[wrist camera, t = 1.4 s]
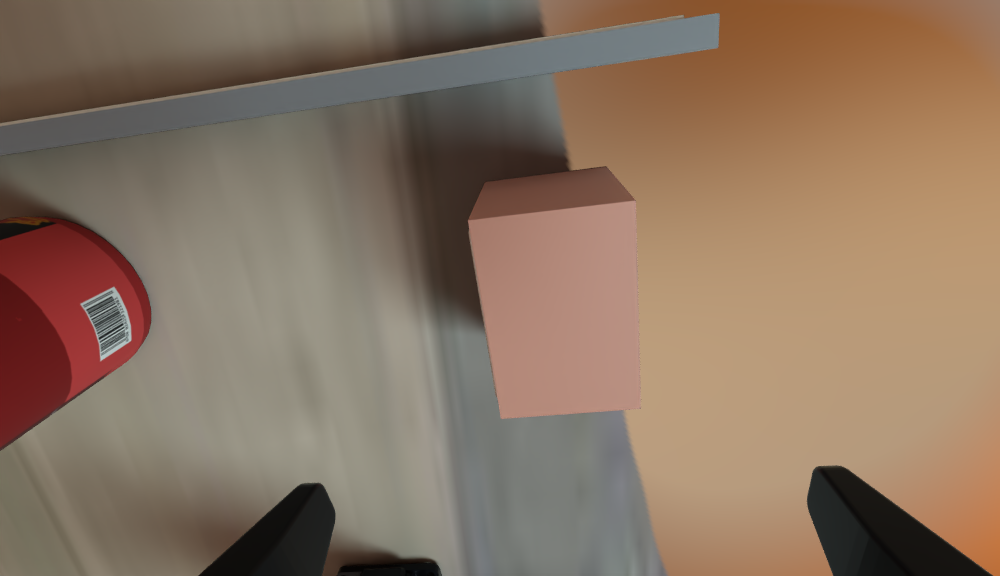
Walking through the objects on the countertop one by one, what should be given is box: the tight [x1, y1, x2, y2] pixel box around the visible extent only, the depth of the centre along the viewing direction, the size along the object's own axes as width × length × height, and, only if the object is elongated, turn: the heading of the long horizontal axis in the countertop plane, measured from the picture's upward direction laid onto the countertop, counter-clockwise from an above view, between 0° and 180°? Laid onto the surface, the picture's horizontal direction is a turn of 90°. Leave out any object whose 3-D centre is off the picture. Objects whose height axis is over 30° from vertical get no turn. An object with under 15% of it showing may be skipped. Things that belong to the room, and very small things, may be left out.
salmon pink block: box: [468, 166, 641, 419], centre depth 18 cm, size 5×8×6 cm
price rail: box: [0, 13, 719, 156], centre depth 18 cm, size 1×32×2 cm, turn 98°
